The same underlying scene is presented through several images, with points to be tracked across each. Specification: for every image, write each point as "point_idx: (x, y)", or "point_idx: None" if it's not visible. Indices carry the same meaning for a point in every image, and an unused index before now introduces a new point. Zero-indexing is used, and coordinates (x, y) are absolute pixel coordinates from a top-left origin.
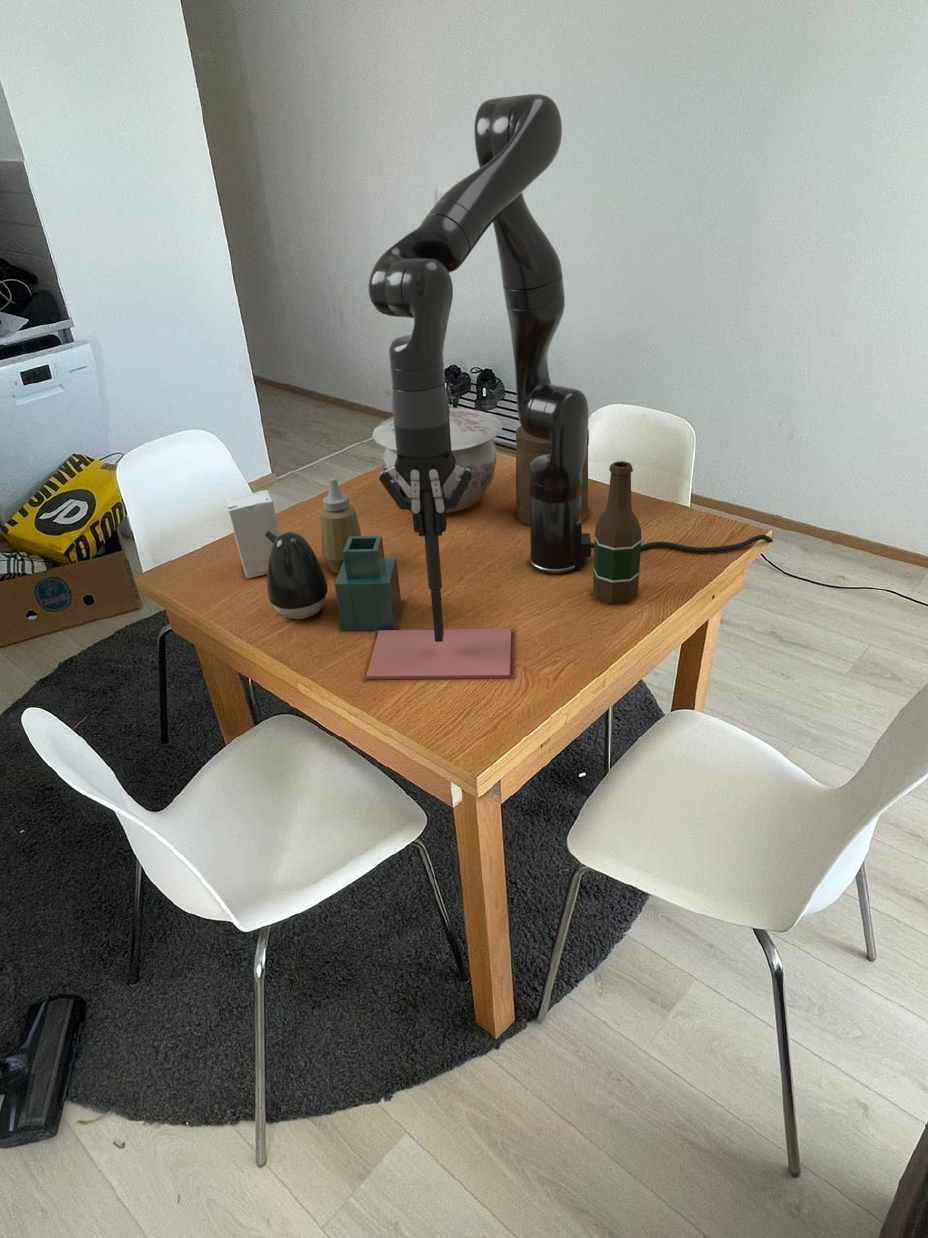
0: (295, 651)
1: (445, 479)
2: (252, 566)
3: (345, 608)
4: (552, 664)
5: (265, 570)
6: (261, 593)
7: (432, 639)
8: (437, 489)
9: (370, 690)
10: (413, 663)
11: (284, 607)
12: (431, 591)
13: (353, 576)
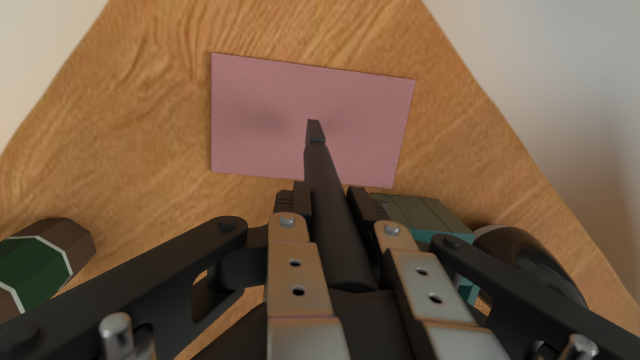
0: (498, 159)
1: (222, 334)
2: None
3: (443, 212)
4: (150, 79)
5: None
6: None
7: None
8: (289, 267)
9: (410, 51)
10: (349, 102)
11: (522, 229)
12: (324, 139)
13: None
